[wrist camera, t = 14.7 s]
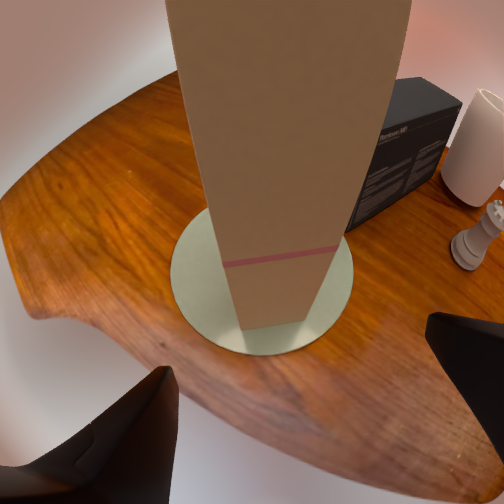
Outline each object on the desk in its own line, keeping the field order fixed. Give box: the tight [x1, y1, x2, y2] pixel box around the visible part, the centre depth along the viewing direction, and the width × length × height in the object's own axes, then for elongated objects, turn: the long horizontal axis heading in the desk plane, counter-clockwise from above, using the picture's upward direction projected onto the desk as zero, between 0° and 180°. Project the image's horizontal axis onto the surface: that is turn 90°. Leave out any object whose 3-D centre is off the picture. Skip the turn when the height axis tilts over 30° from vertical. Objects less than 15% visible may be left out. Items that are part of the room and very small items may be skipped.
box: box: [345, 77, 462, 232], centre depth 24 cm, size 17×7×12 cm, turn 121°
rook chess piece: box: [451, 200, 504, 270], centre depth 21 cm, size 4×4×8 cm
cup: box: [441, 88, 504, 207], centre depth 23 cm, size 8×8×14 cm
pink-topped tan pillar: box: [165, 0, 412, 331], centre depth 12 cm, size 4×5×22 cm
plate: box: [171, 208, 353, 356], centre depth 24 cm, size 16×16×1 cm
